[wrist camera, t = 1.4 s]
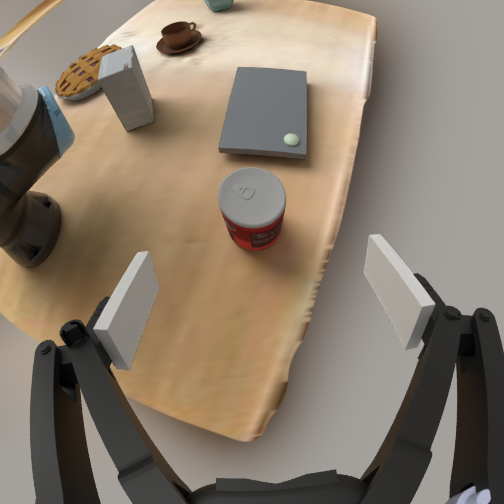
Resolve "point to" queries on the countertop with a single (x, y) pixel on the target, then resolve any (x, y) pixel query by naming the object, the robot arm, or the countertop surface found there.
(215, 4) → the flower pot
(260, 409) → the countertop surface
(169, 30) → the cup and saucer
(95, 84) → the pie
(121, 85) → the skincare box
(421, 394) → the robot arm
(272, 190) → the canned food
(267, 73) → the plate
